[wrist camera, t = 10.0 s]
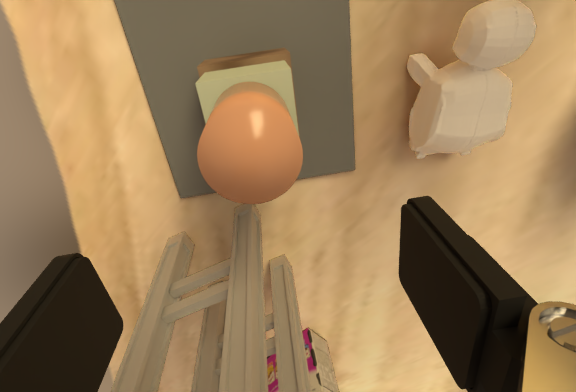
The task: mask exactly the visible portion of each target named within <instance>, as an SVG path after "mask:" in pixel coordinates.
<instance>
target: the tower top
mask: <svg viewBox="0 0 576 392" xmlns="http://www.w3.org/2000/svg"><path fill="white" fill-rule="evenodd" d="M248 81H251V82H259V83H262V84H265V85H267V86H269V87H271V88H272V89H274V90H275V91H276V92H277V93H279V95H280V96H281V97H282V98H283V100H284V101H285V103H286V105H287V107H288V110H289V113H290V115H291V118H292V120H293V123H294V125H295V128H296V130H297V133H298V135H299V132H298V123H297V115H296V107H295V99H294V90H293V82H292V74H291V68H290V67H289V65H288V64H287V63H286V61H285V60H282V61H276V62H269V63H263V64H256V65H250V66H243V67H237V68H230V69H224V70H218V71H211V72H205V73H204V74H203V75H202V76H201V77H200V78H199V80H198V81H197V82H196V83H195V84H196V88H197V92H198V96H199V100H200V104H201V108H202V111H203V115H204V119H205V123H207V121H208V118H209V116H210V114H211V111H212V109H213V107H214V104H215V102H216V100H217V99H218V97H219V96H220V95H221V94H222V93H223V92H224V91H225V90H226V89H227V88H229V87H231V86H232V85H235V84H237V83H241V82H248Z"/></svg>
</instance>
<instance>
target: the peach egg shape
mask: <svg viewBox="0 0 576 392" xmlns="http://www.w3.org/2000/svg"><path fill="white" fill-rule="evenodd" d="M197 160H198V165H199V168H200V171H201V174H202V176H203V178H204V179H205V181H206V182H207V184H208V185H209V186H210V187H211V188H212V189H213V190H214V191H215V192H217V193H218V194H219V195H221V196H223V197H224V198H226V199H229V200H231V201H234V202H238V203H243V204H259V203H264V202H268V201H271V200H273V199H275V198H277V197H279V196H280V195H282V194H283V193H285V192H286V191H287V190H288V189H289V188H290V187H291V186H292V185H293V183H294V182H295V181H296V179H297V177H298V175H299V173H300V170H301V167H302V162H303V149H302V144H301V141H300V138H299V135H298V133H297V130H296V128H295V125H294V123H293V120H292V118H291V115H290V113H289V110H288V107H287V105H286V103H285V101H284V100H283V98H282V97H281V96H280V95H279V93H277V92H276V91H275V90H274V89H272V88H271V87H269V86H267V85H265V84H262V83H259V82H251V81H248V82H241V83H237V84H235V85H232V86H231V87H229V88H227V89H226V90H225V91H224V92H223V93H222V94H221V95H220V96H219V97H218V99H217V100H216V102H215V104H214V107H213V109H212V111H211V114H210V116H209V118H208V121H207V123H206V125H205V128H204V130H203V132H202V135H201V137H200V140H199V143H198V149H197Z"/></svg>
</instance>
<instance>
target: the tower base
mask: <svg viewBox="0 0 576 392" xmlns="http://www.w3.org/2000/svg"><path fill="white" fill-rule="evenodd" d="M282 60H285V61H286V63H287V64H288V65H289V67H290V68H291V74H292V66H291V57H290V52H289V51H288V50H287V49H286V48H285V47H284V48H278V49H272V50H265V51H259V52H252V53H246V54H239V55H233V56H226V57H220V58H213V59H207V60H204V61H203V62H202V63H201V64H200V65H198V66H197V69H198V73H199V77H201V76H202V75H203V74H204V73H205V72H211V71H218V70H224V69H230V68H237V67H243V66H250V65H256V64H263V63H269V62H276V61H282ZM292 82H293V74H292ZM293 90H294V82H293ZM294 99H295V91H294ZM295 107H296V99H295ZM296 115H297V107H296ZM297 123H298V116H297ZM298 132H299V124H298ZM299 138H300V132H299Z"/></svg>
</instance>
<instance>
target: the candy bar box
mask: <svg viewBox="0 0 576 392" xmlns="http://www.w3.org/2000/svg"><path fill="white" fill-rule="evenodd" d="M302 333H303V340H304V346H305V352H306V358H307V365H308V371H309V377H310V384H311V390H312V392H339V389H338V384H337V380H336V377H335V373H334V369H333V365H332V360H331V356H330V352H329V348H328V344H327V341H326V340H325V339H323V338H322V337H321V336H319V335H317V334H316V333H315V332H313V331H312V330H311V329H309V328H307V329H305V330H304V331H302ZM267 373H268V392H279V388H278V374H277V360H276V354H273V355H270V356H268V357H267Z"/></svg>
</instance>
